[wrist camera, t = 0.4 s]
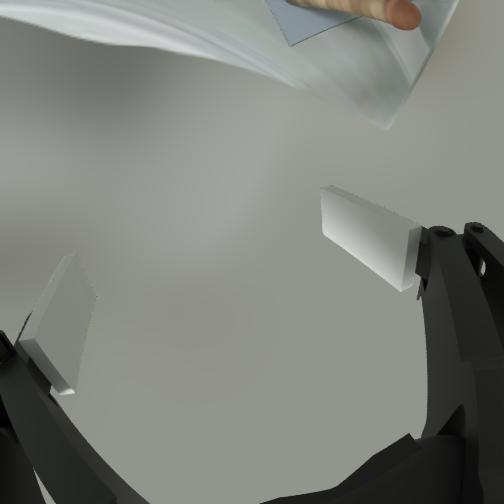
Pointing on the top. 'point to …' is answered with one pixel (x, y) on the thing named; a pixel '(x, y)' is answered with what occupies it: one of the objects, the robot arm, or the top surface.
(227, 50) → the top surface
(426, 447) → the robot arm
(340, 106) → the top surface
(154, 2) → the top surface
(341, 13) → the card
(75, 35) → the top surface
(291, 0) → the folding fence panel
